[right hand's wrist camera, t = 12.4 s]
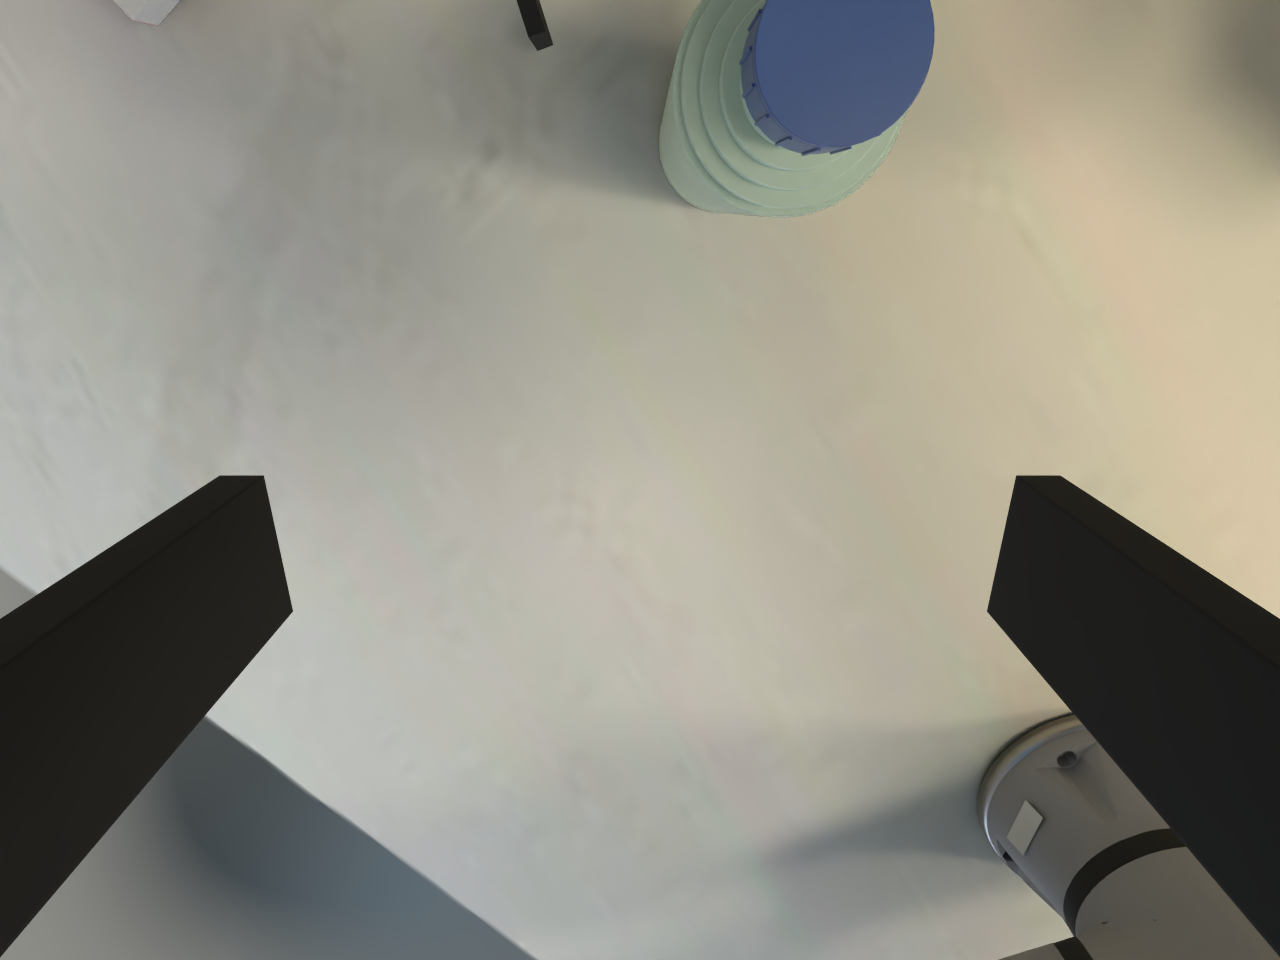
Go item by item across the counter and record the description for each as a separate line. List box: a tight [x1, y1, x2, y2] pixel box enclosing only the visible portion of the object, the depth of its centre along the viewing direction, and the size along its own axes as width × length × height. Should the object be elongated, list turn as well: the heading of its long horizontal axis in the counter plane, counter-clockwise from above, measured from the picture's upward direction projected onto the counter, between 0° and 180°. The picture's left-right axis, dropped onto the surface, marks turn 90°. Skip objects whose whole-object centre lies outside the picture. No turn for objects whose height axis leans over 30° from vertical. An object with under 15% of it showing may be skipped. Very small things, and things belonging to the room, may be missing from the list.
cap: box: [739, 0, 934, 156], centre depth 16 cm, size 4×4×2 cm
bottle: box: [659, 0, 906, 217], centre depth 26 cm, size 7×7×23 cm
